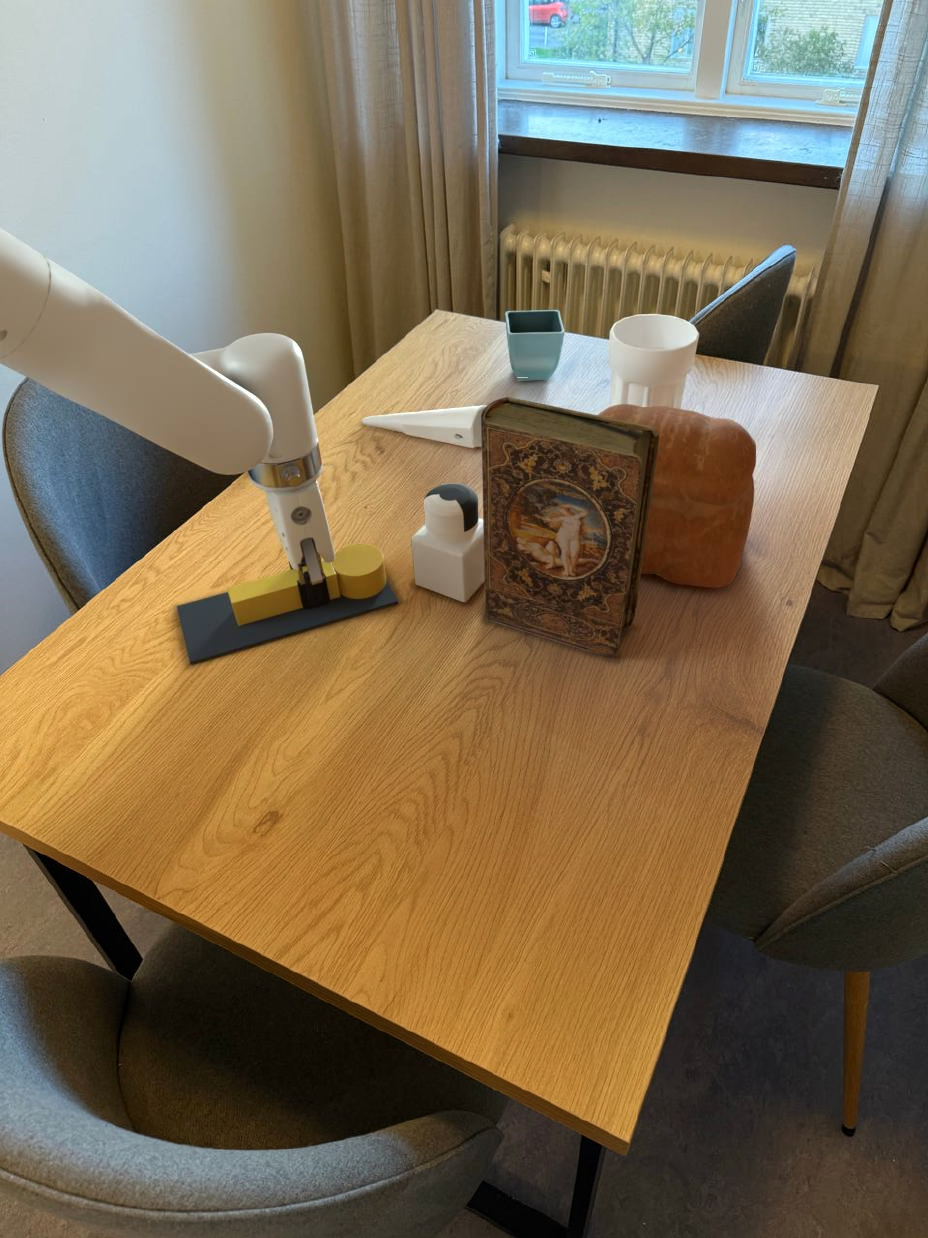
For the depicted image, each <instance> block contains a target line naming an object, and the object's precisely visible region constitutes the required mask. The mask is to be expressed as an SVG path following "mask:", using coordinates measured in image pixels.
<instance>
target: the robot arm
mask: <svg viewBox="0 0 928 1238" xmlns="http://www.w3.org/2000/svg"><path fill="white" fill-rule="evenodd" d="M304 359H305V358H304V356H303V352H302V350H301V348H300V346H299V345H298V343H296V341H295V340H294V339H292V338H290V337H289V336H286V335H283V334H280V333H274V332H262V333H254V334H249V335H245V336H243V337H240V338H238V339H236V340H235V341H233V342H231V343H230V344H229V345H228V346H225V347H221V348H217V349H211V350H206V351H201V352H194V353H188V352H186V351H185V350H183V349H182V348H180V347H179V346H177V345H176V344H174V343H173V342H171V341H169V340H168V339H166V338H165V337H164V336H162V335H161V334H159V333H158V332H156V331H155V330H153V329H152V328H150V327H149V326H147V325H146V324H145V323H143V322H142V321H140V320H139V319H137V318H136V317H135V316H134V315H132V314H131V313H130V312H128V310H126V309H124V307H122V306H121V305H119V304H118V303H117V302H115V301H114V300H113V299H111V298H110V297H109V296H107V295H106V294H104V293H103V292H101V291H100V290H98V289H96V288H95V287H93V285H91V284H89V283H88V282H86V281H85V280H83V279H81V278H80V277H79V276H77V275H75V274H74V273H72V272H71V271H69V270H68V269H66V268H65V267H64V266H61V265H60V264H58V263H56V262H55V261H53V260H52V259H50V258H49V257H47V256H45V255H44V254H43V253H40V252H39V251H37V250H36V249H35V248H33V247H31V246H30V245H28V244H27V243H25V242H24V241H22V240H20V239H19V238H18V237H16V236H14V235H12V234H11V233H9V232H7V231H6V230H4V229H3V228H2V227H0V364H1V365H2V366H4V367H6V368H8V369H10V370H12V371H14V372H16V373H18V374H20V375H22V376H24V377H26V378H27V379H30V380H32V381H33V382H36V383H37V384H39V385H41V386H42V387H44V388H46V389H47V390H49V391H51V392H53V393H54V394H56V395H58V396H60V397H63V398H64V399H66V400H68V401H71V402H73V403H75V404H77V405H80V406H82V407H84V408H86V409H88V410H90V411H93V412H94V413H97V414H98V415H101V416H103V417H104V418H107V419H109V420H111V421H112V422H114V423H116V424H118V425H120V426H122V427H124V428H125V429H128V430H129V431H131V432H133V433H134V434H136V435H138V436H140V437H142V438H144V439H146V440H148V441H149V442H152V443H154V444H156V445H157V446H160V447H161V448H163V449H165V450H167V451H169V452H171V453H173V454H175V455H177V456H179V457H181V458H183V459H185V460H188V461H189V462H191V463H194V464H195V465H198V466H199V467H201V468H203V469H206V470H208V471H210V472H212V473H215V474H219V475H226V476H229V475H239V474H240V475H241V474H243V473H246V472H247V474H248V477H249V481H250V483H251V484H252V485H253V486H254V487H256V488H258V489H259V490H262V491H264V494H265V498H266V502H267V507H268V510H269V513H270V517H271V520H272V523H273V526H274V529H275V532H276V534H277V536H278V537H277V538H278V539H279V542H280V544H281V546H282V548H283V551H284V553H285V555H286V557H287V559H288V565H289V570H292V569H295V570H297V573H298V578H299V580H297V585H298V589H299V593H300V598H301V602H302V606H303V608H304V609H308V608H312V607H315V606H319V605H322V604H326V603H328V602H330V597H329V591H328V586H327V581H326V576H325V574H324V571H323V566H322V562H321V561H322V560H323V561H325V562H326V563H328V562H331V563H332V562H333V561H334V559H335V554H336V552H335V549H334V544H333V540H332V534H331V530H330V527H329V522H328V517H327V513H326V512H327V511H326V509H325V505H324V501H323V497H322V493H321V489H320V486H319V483H318V480H317V479H319V477H320V476H321V475H322V472H323V469H324V467H323V461H322V456H321V455H322V454H321V450H320V445H319V444H320V443H319V439H318V432H317V427H316V421H315V416H314V409H313V404H312V399H311V393H310V388H309V387H310V386H309V382H308V376H307V370H306V363H305V360H304ZM304 566H306V567H307V571H305V572H304V573H303V569H302V567H304Z"/></svg>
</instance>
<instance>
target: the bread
mask: <svg viewBox="0 0 928 1238" xmlns="http://www.w3.org/2000/svg"><path fill="white" fill-rule="evenodd" d="M597 415H598V416H603V417H608V418H613V419H617V420H622V421H627V422H632V423H637V424H642V425H646V426H652V427H655V428H656V429H657V430H658V432H659V445H658V453H657V460H656V468H655V475H654V482H653V490H652V497H651V504H650V512H649V519H648V526H647V533H646V541H645V548H644V555H643V563H642V570H641V575H657V576H658V577H660V578H662V579H664V580H665V581H667V582H669V583H670V584H671V583H672V584H679V585H686V586H693V587H702V588H709V589H716V588H721V587H725V586H729V585H730V584H731V583H732V582H733V581H734V579H735V577H736V574H737V572H738V569H739V567H740V564H741V561H742V559H743V555H744V552H745V547H746V543H747V539H748V535H749V530H750V527H751V522H752V516H753V510H754V509H753V508H754V502H755V501H754V500H755V480H754V476H753V475H754V472H755V469H756V466H757V464H756V463H757V444H756V441H755V440H754V438H753V436H752V435H751V433H749V432H748V430H747V429H746V428H744V427H743V426H742V424H740V423H738V422H736V421H735V420H733V419H730V418H723V417H714V416H709V415H706V414H704V413H700V412H697V411H695V410H689V409H683V408H680V409H677V408H671V407H656V406H654V407H639V406H635V405H630V404H620V405H615V406H612V407H610V406H608V407H607V408H605V409H604V410H602V411H600V412H599V413H598V414H597Z"/></svg>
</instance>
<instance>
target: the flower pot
mask: <svg viewBox="0 0 928 1238" xmlns="http://www.w3.org/2000/svg"><path fill="white" fill-rule="evenodd" d="M504 316H505V317H504V318H505V330H506V341H507V348H508V357H509V363H510V368H511V370H512V373H513V375H514V377H515V378H516V380H517V381H519V382H527V381H530V382H531V381H549V380H550V378H551V377H552V376H553V375H554V373H555V371H556V370H557V367H558V365H559V362H560V360H561V356H562V355H561V354H562V351H563V350H562V349H563V343H564V337H565V328H564V325H563V321H562V317H561V312H560V310H558V309H544V310H543V309H542V310H540V309H539V310H509V311H505V313H504ZM517 377H528V378H517Z"/></svg>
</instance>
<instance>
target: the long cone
mask: <svg viewBox="0 0 928 1238" xmlns="http://www.w3.org/2000/svg"><path fill="white" fill-rule="evenodd" d="M487 406H488V405H487V404H482V405H471V406H470V405H469V406H462V407H453V408H451V407H450V408H440V409H431V410H430V409H429V410H420V411H409V412H400V413H391V414H390V413H389V414H380V415H379V414H378V415H372V416H371V415H370V416H366V417H363V418H362V419H361V423H362V424H363V425H365V426H368V427H373V428H377V429H383V430H389V431H394V432H398V433H403V434H404V435H406V436H410V437H411V436H412V437H417V438H420V439H421V438H422V439H425V440H431V441H436V442H441V443H445V444H451V445H456V446H460V447H464V448H465V447H466V448H470V449H475V448H482V437H481V414H482V411H483V410H484V409H485V408H486V407H487Z"/></svg>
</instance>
